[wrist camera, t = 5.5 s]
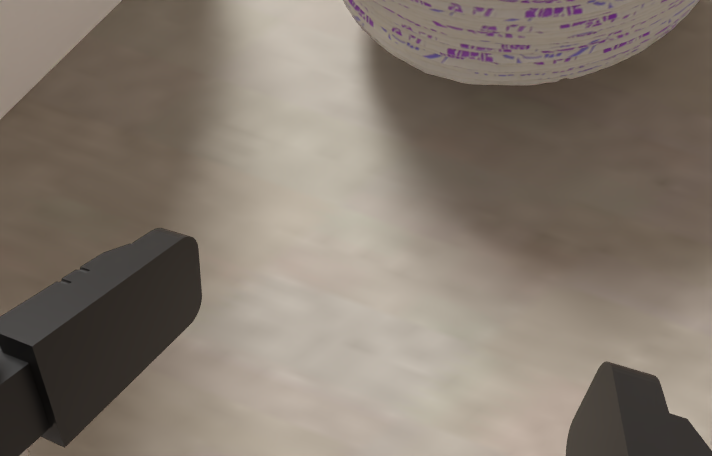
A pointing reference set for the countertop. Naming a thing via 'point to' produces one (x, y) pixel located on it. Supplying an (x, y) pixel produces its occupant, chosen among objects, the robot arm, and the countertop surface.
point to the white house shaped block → (40, 39)
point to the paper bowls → (516, 35)
